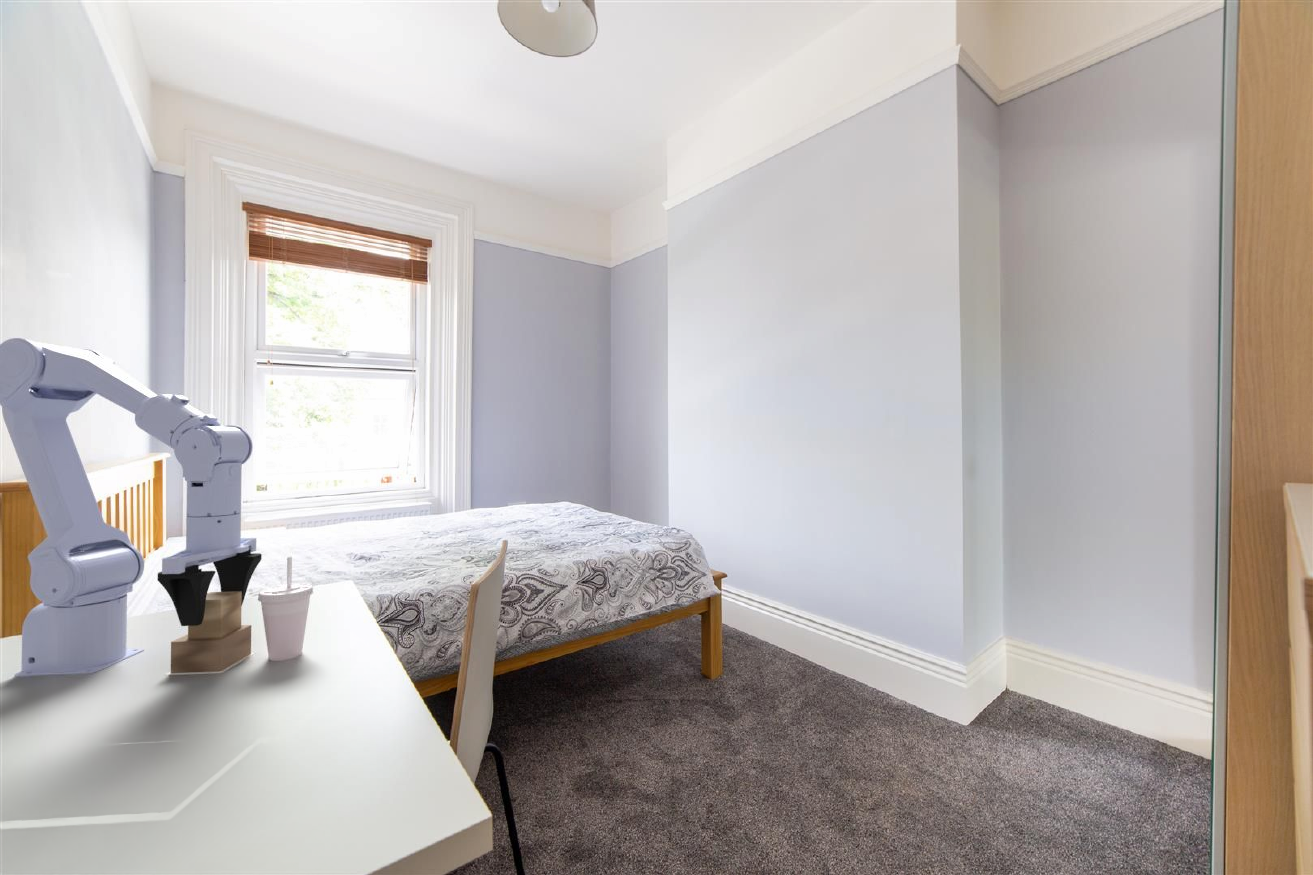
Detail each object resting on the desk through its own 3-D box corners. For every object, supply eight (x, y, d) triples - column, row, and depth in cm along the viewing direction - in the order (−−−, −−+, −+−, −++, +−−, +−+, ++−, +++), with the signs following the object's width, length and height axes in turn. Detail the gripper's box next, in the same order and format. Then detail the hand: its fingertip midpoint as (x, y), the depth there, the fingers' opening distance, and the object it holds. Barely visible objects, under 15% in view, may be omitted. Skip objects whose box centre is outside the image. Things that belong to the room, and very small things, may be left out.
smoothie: (323, 650, 78) (324, 553, 78) (289, 668, 72) (289, 563, 72) (282, 649, 79) (283, 552, 79) (244, 666, 72) (245, 562, 73)
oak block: (220, 637, 71) (221, 599, 71) (187, 638, 71) (188, 600, 71) (241, 627, 75) (241, 591, 75) (210, 628, 74) (210, 592, 75)
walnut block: (170, 673, 69) (170, 641, 69) (205, 655, 75) (205, 626, 75) (220, 671, 70) (220, 640, 70) (251, 653, 76) (251, 624, 76)
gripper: (206, 521, 66) (204, 633, 66) (278, 507, 80) (277, 599, 80) (143, 522, 65) (142, 635, 65) (227, 508, 80) (226, 600, 80)
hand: (213, 615), depth 73 cm, fingers open, 7 cm apart
